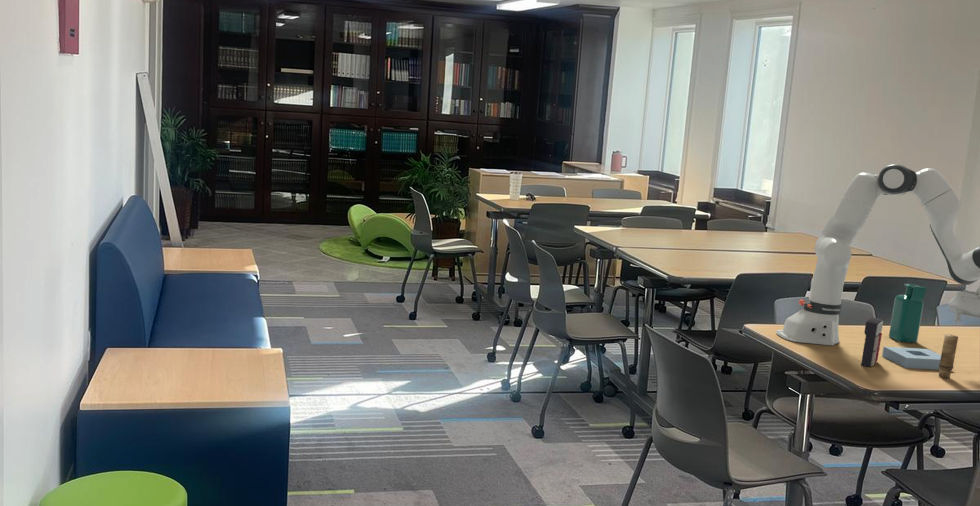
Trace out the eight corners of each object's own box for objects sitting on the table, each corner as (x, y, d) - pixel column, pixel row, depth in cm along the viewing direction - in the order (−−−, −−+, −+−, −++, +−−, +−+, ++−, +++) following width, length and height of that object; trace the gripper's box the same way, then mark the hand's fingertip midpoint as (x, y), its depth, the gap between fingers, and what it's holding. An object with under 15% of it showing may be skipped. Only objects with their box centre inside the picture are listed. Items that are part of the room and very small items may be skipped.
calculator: (872, 368, 307) (879, 324, 305) (858, 365, 310) (865, 321, 307) (878, 361, 317) (885, 319, 314) (864, 359, 319) (871, 317, 316)
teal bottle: (886, 336, 359) (895, 281, 355) (907, 337, 360) (916, 282, 356) (900, 342, 349) (909, 286, 346) (921, 344, 350) (930, 287, 347)
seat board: (904, 367, 312) (906, 357, 311) (882, 356, 326) (883, 346, 325) (950, 370, 314) (952, 360, 314) (926, 358, 328) (927, 349, 328)
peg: (942, 378, 302) (949, 337, 300) (934, 374, 306) (941, 333, 304) (954, 379, 303) (961, 338, 300) (946, 375, 307) (953, 334, 305)
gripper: (957, 283, 319) (937, 312, 315) (1018, 296, 302) (998, 327, 298) (962, 295, 322) (942, 324, 318) (1022, 308, 306) (1002, 339, 302)
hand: (970, 325), depth 308 cm, fingers open, 8 cm apart
